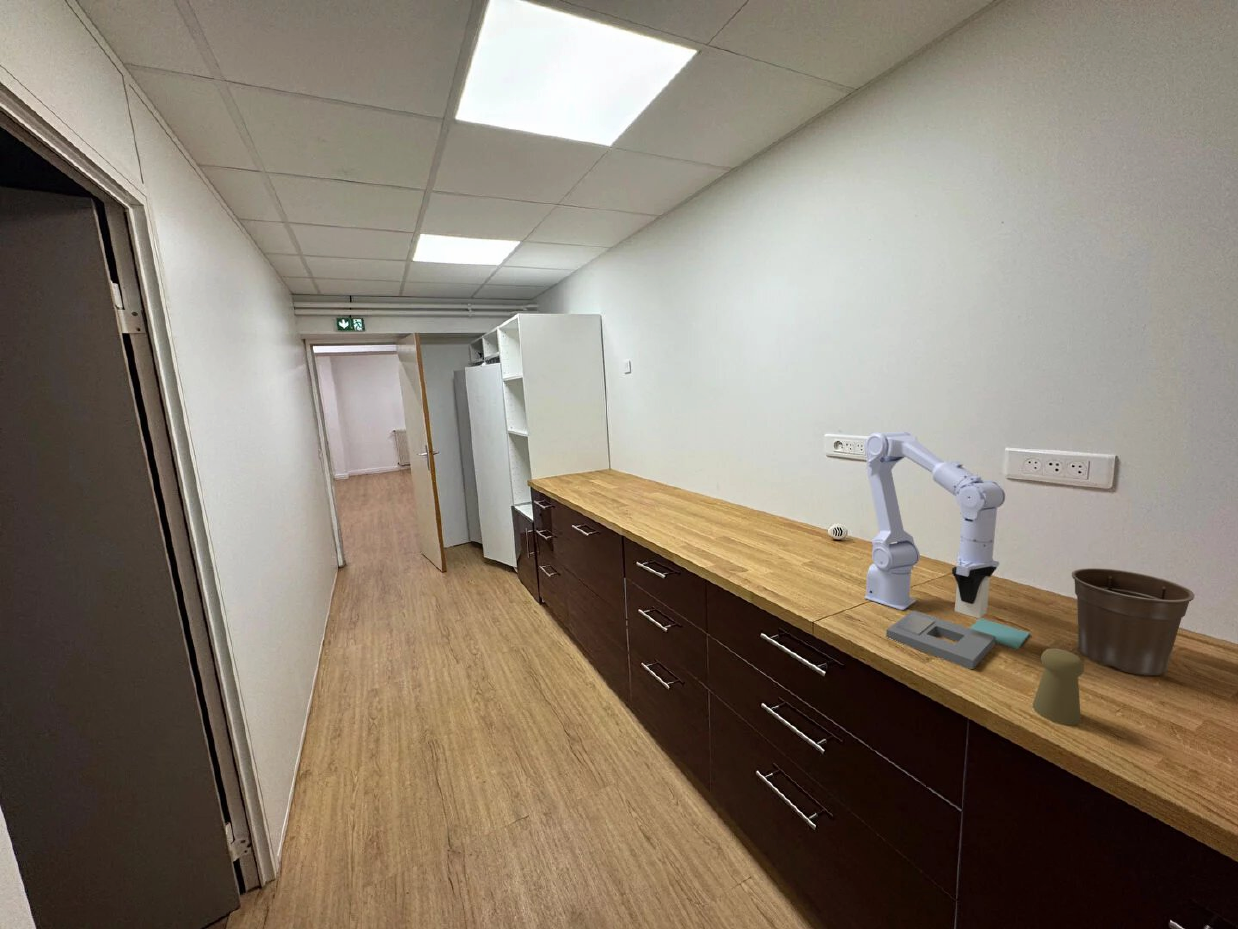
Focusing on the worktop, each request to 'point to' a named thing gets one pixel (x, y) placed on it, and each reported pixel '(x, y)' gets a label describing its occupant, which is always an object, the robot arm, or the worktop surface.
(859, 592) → the worktop surface
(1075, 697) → the cork
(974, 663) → the grey slotted board
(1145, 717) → the worktop surface
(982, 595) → the plug
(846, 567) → the worktop surface
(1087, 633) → the plant pot
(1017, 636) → the mat
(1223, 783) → the worktop surface
